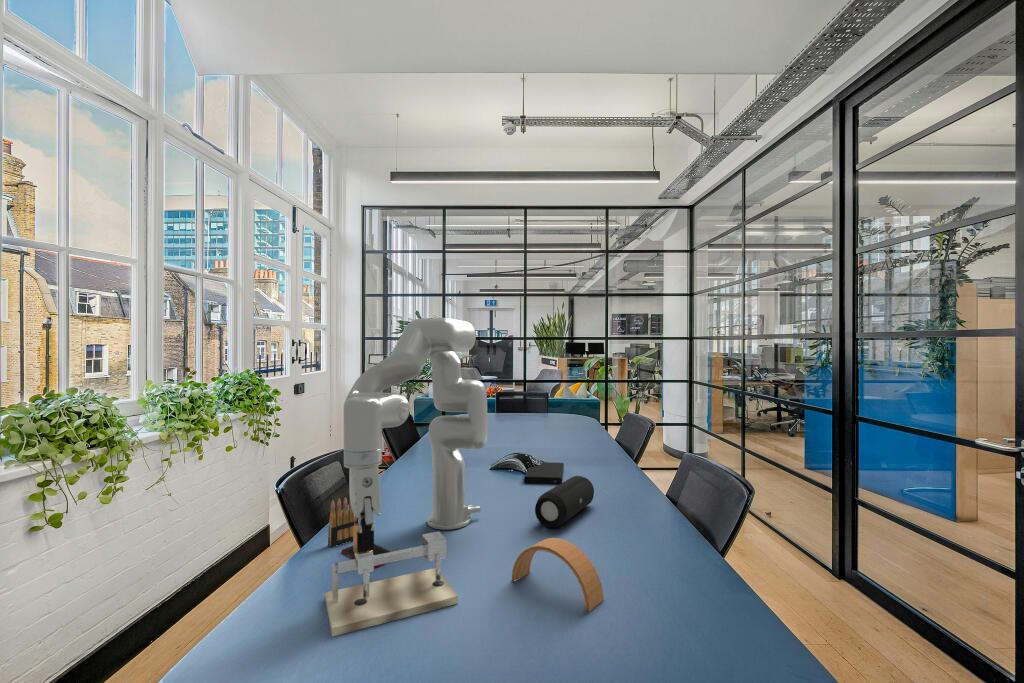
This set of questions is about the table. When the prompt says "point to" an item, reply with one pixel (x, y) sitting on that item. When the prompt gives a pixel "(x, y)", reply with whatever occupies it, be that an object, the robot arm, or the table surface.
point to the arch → (572, 558)
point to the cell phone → (376, 550)
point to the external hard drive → (545, 474)
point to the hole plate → (388, 601)
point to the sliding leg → (363, 562)
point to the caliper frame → (398, 558)
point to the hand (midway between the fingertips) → (363, 545)
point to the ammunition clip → (340, 524)
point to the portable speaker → (564, 501)
